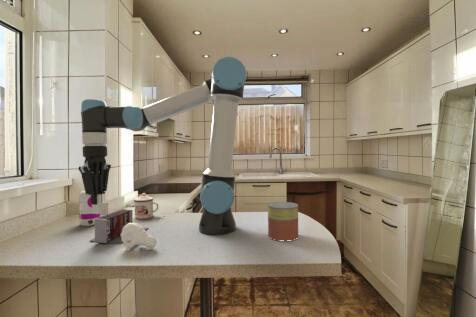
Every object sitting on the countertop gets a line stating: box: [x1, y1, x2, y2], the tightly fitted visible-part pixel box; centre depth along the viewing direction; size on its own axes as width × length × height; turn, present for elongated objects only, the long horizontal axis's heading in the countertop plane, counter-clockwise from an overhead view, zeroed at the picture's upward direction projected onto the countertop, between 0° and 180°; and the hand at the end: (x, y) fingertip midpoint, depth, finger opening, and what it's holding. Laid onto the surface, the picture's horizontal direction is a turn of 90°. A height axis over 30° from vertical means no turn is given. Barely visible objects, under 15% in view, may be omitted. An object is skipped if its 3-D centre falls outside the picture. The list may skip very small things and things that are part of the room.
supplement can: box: [78, 190, 101, 227], centre depth 122 cm, size 8×8×15 cm
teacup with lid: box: [133, 192, 160, 220], centre depth 134 cm, size 12×9×12 cm
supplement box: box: [94, 209, 134, 244], centre depth 102 cm, size 9×5×16 cm
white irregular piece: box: [121, 222, 157, 252], centre depth 90 cm, size 6×8×12 cm
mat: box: [89, 226, 149, 245], centre depth 105 cm, size 13×18×1 cm
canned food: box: [267, 201, 299, 241], centre depth 100 cm, size 11×11×12 cm
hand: (97, 213), depth 93 cm, fingers closed
